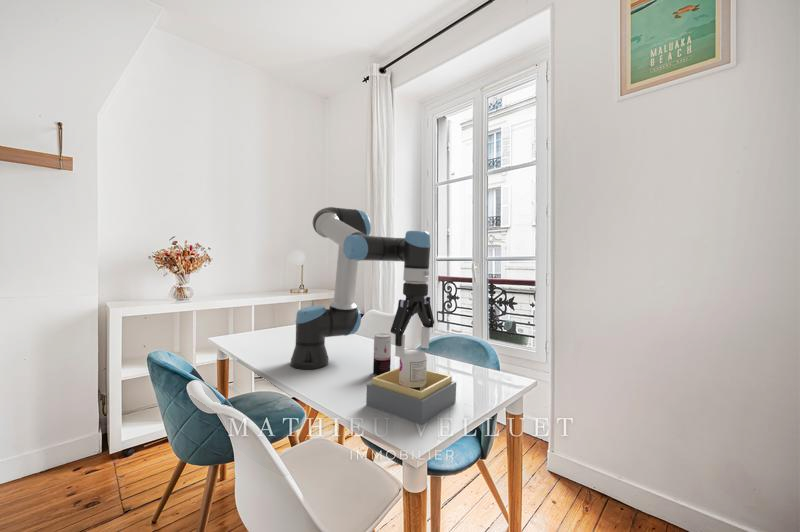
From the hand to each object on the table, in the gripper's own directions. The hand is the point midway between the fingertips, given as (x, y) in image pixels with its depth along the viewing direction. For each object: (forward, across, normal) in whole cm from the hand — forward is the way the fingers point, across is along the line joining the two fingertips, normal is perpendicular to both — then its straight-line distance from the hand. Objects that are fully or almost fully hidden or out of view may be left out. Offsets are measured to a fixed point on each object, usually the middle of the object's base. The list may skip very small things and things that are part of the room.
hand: (412, 352), depth 108 cm
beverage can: (+17, +17, +25) cm, 34 cm away
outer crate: (+16, 0, -1) cm, 16 cm away
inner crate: (+16, 0, -1) cm, 16 cm away
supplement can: (+15, 0, 0) cm, 15 cm away
